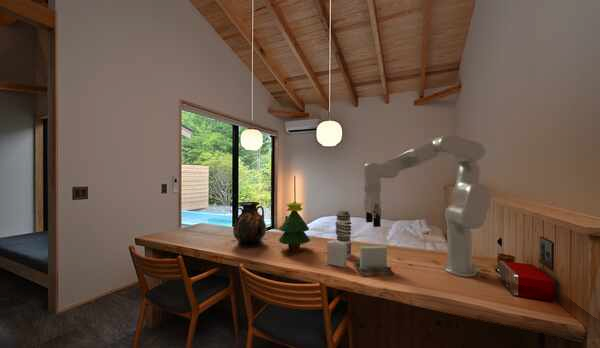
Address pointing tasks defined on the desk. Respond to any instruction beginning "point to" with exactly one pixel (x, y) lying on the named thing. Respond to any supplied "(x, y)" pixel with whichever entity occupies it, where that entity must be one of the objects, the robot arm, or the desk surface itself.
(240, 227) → the amphora vase
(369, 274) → the door track
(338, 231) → the grey layered cylinder
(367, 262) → the pale sage cube
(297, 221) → the decorative tree
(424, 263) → the desk surface
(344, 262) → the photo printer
